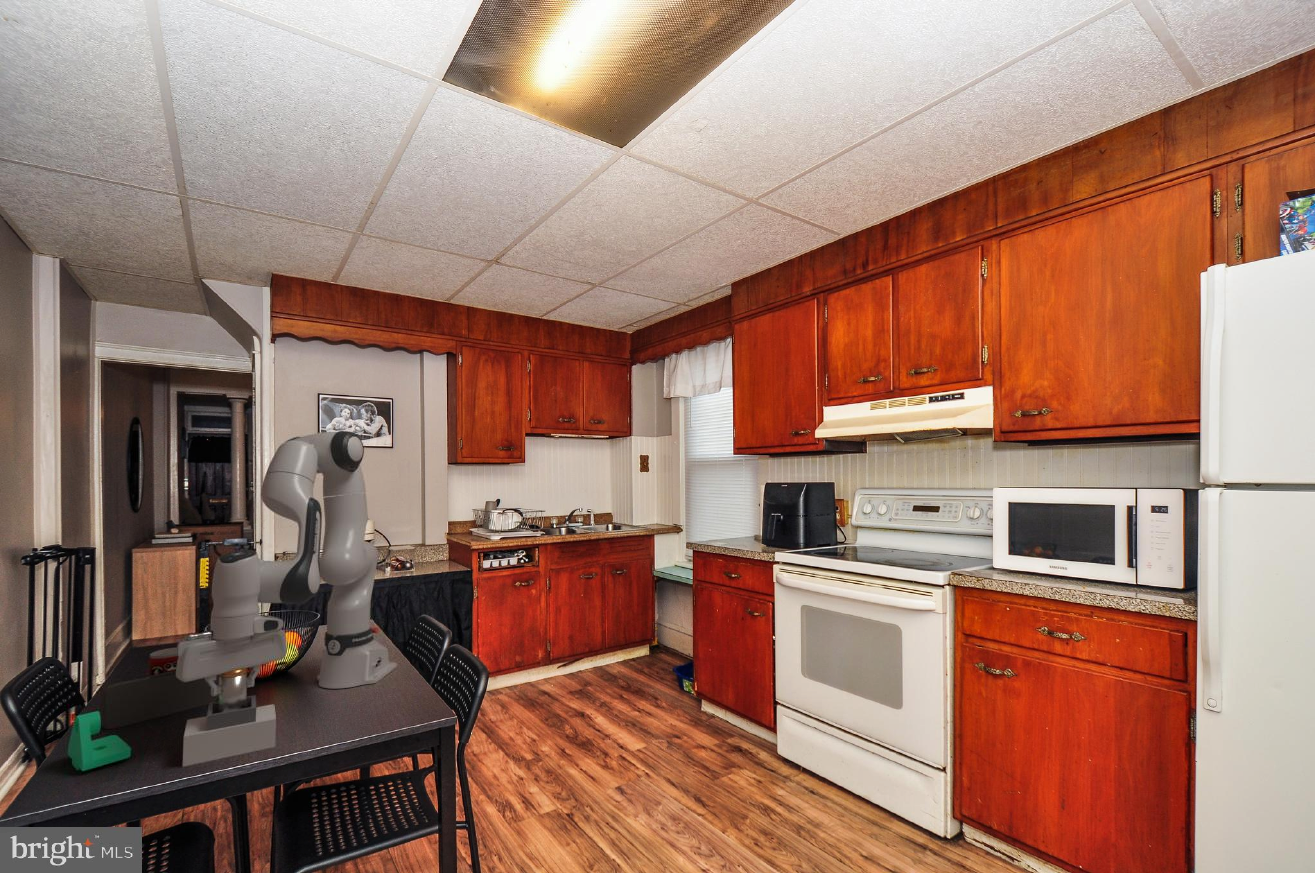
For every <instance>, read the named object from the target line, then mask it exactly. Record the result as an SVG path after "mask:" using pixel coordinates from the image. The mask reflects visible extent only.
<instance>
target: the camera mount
mask: <svg viewBox="0 0 1315 873" xmlns="http://www.w3.org/2000/svg"><path fill="white" fill-rule="evenodd" d="M101 726H102V725H101V712H100V711H99V710H97V711H92V712H87V713H83V714H79V715H75V717H74V721H73V725H72V728H71V734H70V736H69V742H68V746H67V755H68V757H69V758H71V764H72V766H73V767H74V768H75V769H76V771H78V772H79V771H81V772H84V771H85V772H86V771H88V770H92V769H95V768H98V767H102V766H104V765H105V766H106V765H108V764H111V763H112V764H113V763H115V762H119V761H122V760H126V759H128V758H130V757H131V754H132V753H131V752H132V747H131V746H129V745H128V743H127V742H125V741H124V740H123V739H122V738H120V736H118V735H116V734H114V735H113V734H111V735H108V736H104V737H101V738H97V739H93V740H92V737H91V736H92V735H95V734H99V733H100V731H101V728H102V727H101Z"/></svg>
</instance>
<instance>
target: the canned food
mask: <svg viewBox="0 0 1315 873" xmlns="http://www.w3.org/2000/svg"><path fill="white" fill-rule="evenodd" d="M148 660H149V661H148V662H149V663H148V676H151V675H155V674H160V673H165V672H170V671H174V670H176V667H177V661H178V655H177V647H169V648H162V649H159V650H156V651H153V652H151V653H150V654H149V659H148Z"/></svg>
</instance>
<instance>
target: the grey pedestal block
mask: <svg viewBox="0 0 1315 873" xmlns="http://www.w3.org/2000/svg"><path fill="white" fill-rule="evenodd" d="M275 708H276V707H275V704H267V705H262V706H258V707H257V696H256V694H255V695H250V696H246V708H244V709H238V710H233V711H227V712H221V713H218V701H216V702H213V703H209V704H208V708H207V713H206V714H207V715H206V716H201V717H196V718H190V719H187V720H186V724H185V730H184V733H183V734H184V735H183V746H182V748H183V750H182V768H183V767H188V766H193V765H197V764H202V763H206V762H212V761H216V760H221V759H225V758H231V757H235V756H240V755H245V754H248V753H253V752H254V753H255V752H257V751H258V752H260V751H262V750H267V749H273V748H276V738H277V736H276V733H277V732H276V731H277V729H276V728H277V715H276V709H275Z"/></svg>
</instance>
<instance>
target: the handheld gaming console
mask: <svg viewBox="0 0 1315 873" xmlns="http://www.w3.org/2000/svg"><path fill="white" fill-rule="evenodd" d="M213 682H214V683H215V684H216V685H219V675H216V680H213ZM101 694H102V697H101V698H102V699H101V714H100V718H101V726H102V727H103V728H105V729H106V730H112V729H117V728H123V727H125V726H130V725H134V724H138V723H142V722H145V721H149V720H154V719H157V718H161V717H165V716H168V715H172V714H176V713H180V712H184V711H189V710H192V709H196V708H199V707H200V708H201V707H204V706H207V705H208V706H209V703H213V702H217V700H219V695H217V696H211V687H210V686H209V684H208V683H207V682H206V681H205V678H201V679H197V680H193V681H189V682H183V681H181V680H179V679H178V678H177V677H176V670H174V671H170V672H165V673H160V674H155V675H151V676H149V675H147V676H141V677H137V678H132V679H130V680H125V681H120V682H115V683H112V684H110V685H107V686H106V687H105V688H104V689H103V690H102V693H101Z"/></svg>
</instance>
